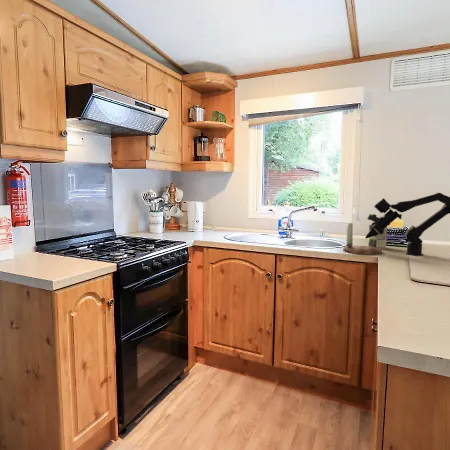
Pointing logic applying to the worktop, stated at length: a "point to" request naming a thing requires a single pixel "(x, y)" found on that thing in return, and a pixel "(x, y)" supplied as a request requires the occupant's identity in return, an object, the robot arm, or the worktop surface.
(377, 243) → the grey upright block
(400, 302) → the worktop surface
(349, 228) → the folding leg
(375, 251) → the stool seat
